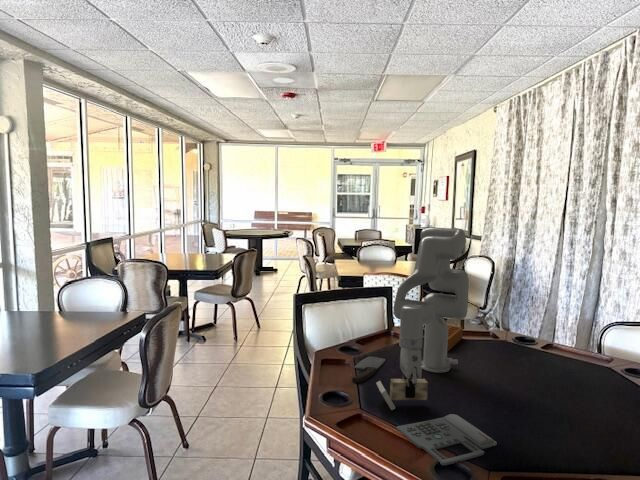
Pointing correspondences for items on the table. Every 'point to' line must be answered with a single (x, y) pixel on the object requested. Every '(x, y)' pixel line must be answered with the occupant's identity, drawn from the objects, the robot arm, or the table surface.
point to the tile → (385, 395)
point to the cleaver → (368, 368)
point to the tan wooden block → (400, 386)
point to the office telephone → (447, 437)
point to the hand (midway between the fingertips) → (408, 394)
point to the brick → (454, 336)
